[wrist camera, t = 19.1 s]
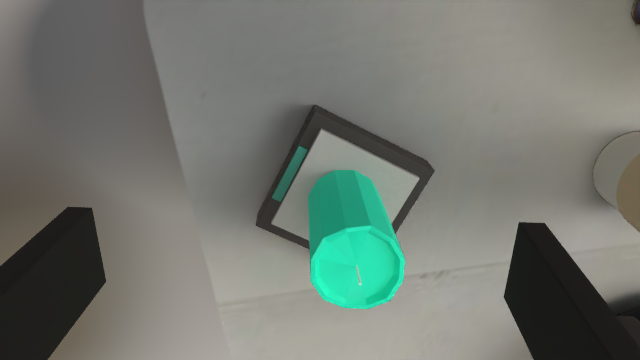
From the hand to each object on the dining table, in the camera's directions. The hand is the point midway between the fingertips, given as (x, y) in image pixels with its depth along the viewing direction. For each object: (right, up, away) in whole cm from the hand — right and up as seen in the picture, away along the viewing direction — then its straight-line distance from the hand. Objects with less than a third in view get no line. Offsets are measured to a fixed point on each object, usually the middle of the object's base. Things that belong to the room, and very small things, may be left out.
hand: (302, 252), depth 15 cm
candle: (+3, 0, +25) cm, 25 cm away
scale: (+2, +2, +28) cm, 28 cm away
